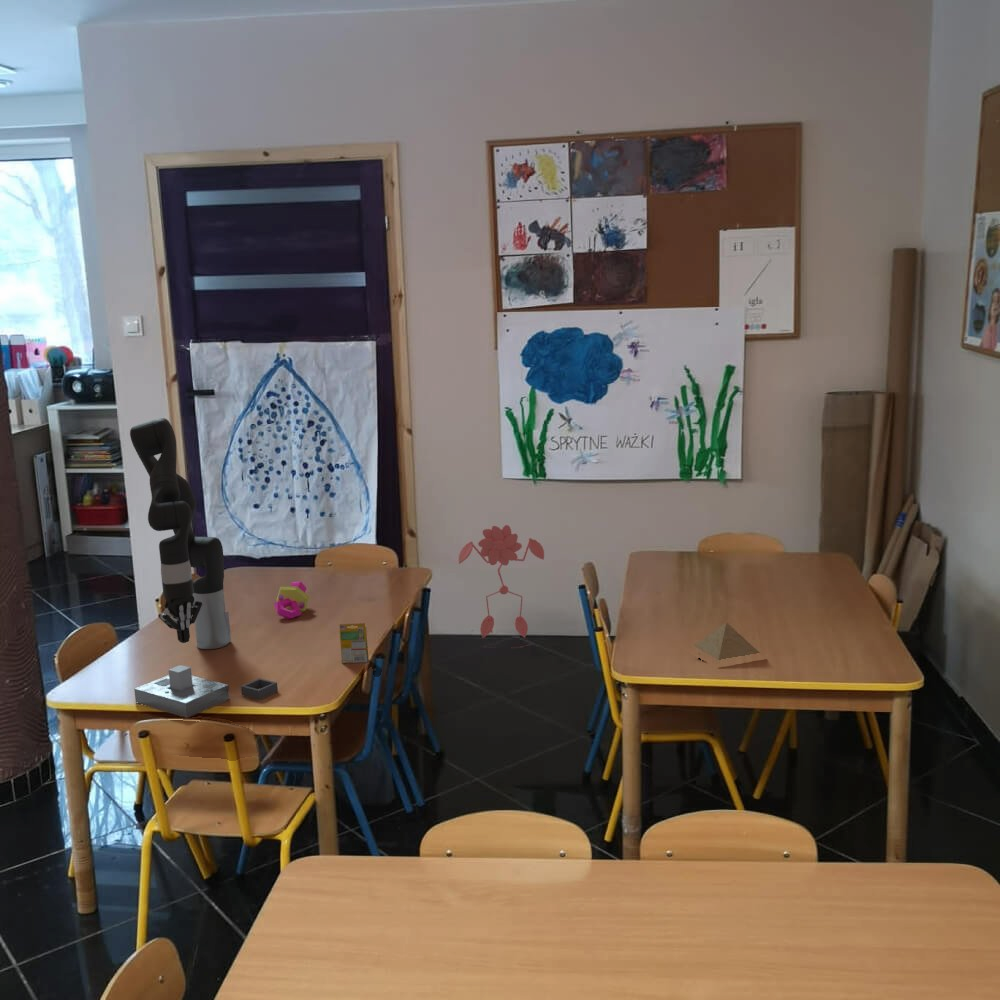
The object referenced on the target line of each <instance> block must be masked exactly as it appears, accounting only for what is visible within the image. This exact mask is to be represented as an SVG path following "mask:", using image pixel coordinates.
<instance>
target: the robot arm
mask: <svg viewBox="0 0 1000 1000" xmlns="http://www.w3.org/2000/svg"><path fill="white" fill-rule="evenodd" d="M129 430H130V431H129V436H130V440H131V444H132V445H133V449H134V450H135V452H136V454H137V456H138V458H139V459H140V461H141V463H142V465H143V466H144V469H145V470H146V472H147V474H148V476H149V487H150V494H151V501H150V505H149V509H148V513H147V521H148V524H149V526H150V528H151V529H153V530H154V531H155V532H164V531H169V530H171V531H173V533H174V535H172V536H169V537H166V538H164V539H162V540H161V541H159V544H158V549H159V558H160V576H161V585H162V592H163V593H162V594H163V597H164V599H165V603H164V610H163V612H161V613H159V614H158V615H157V617H158V618H159V619H160V620H161V621H162V622H163V623H164V624H165V625H166V626H167V627H168V628H169V629H173V630H176V636H177V640H178V641H179V643H182V644H185V643H188V642H190V638H191V633H190V627H191V625H192V624H194V628H195V637H196V638H195V639H196V647H197V648H198V649H201V650H214V649H215V650H216V649H219V648H223V647H226V646H227V645H229V643H230V642H232V638H231V637H232V635H231V625H230V614H229V611H228V610H226V600H225V590H224V589H225V588H224V580H225V579H224V578H225V569H224V567H225V565H224V563H225V561H224V550H223V548H224V547H223V544H222V541H221V540H220V539H219V538H218V537H215V536H197V535H196V534H195V532H194V531H193V528H192V520H193V518H194V516H195V512H196V509H197V500H196V497H195V495H194V493H193V489H192V487H191V485H190V483H189V482H188V480H187V479H185V477H183V476H181V475H180V474H178V473H177V457H178V456H177V439H176V434H175V431H174V429H173V425H172V424H171V422H170V421H169V420H168V419H167V418H165V417H162V418H157V419H152V420H149V421H146V422H142V423H139V424H136V425H134V426H132V427H131V428H130V429H129ZM158 455H160V456H159V457H158V459H157V458H156V456H158ZM192 568H194V569H205V574H204V576H200V577H198V578H195V579H194V580H193V572H192V571H193V570H192Z"/></svg>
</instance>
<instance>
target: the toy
mask: <svg viewBox="0 0 1000 1000" xmlns="http://www.w3.org/2000/svg"><path fill="white" fill-rule="evenodd" d="M306 590H307V586H306V585H305V583H303V582H302V581H294V582H293V581H292V582H291V584H290V586H289V585H288V586H280V587H279V591H278V594H277V597H276V602H274V603H273V605H274V607H275V610H276V613H277V615H278V616H280V617H282V618H285V619H287V620H292V619H293V618H296V617H298V616H300V615H303V612H305V611H306V610H307V607H308V605H309V601H310V598H311V597H310V596H309V595H308V594H307V593H306Z"/></svg>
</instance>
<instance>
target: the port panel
mask: <svg viewBox="0 0 1000 1000" xmlns="http://www.w3.org/2000/svg"><path fill="white" fill-rule="evenodd" d="M192 684H193V687H191V688H188V689H186V690H184V691H181V692H178V691H174V690H170V680H169V674H168V675H165V676H163V677H160V678H158V679H155V680H153V681H152V680H151V682H148V683H145V684H142V685H140V686H138V687H135V688H134V691H133V692H134V696H135V697H134V698H135V699H134V700H135V703H136V702H138V703H140V704H139V705H141V704H143V705H142V706H144V705H146V706H145V707H148V706H149V707H148V708H152V709H155V710H158V711H162V712H165V713H169V714H172V715H174V716H179V717H182V718H185V719H188V718H191V717H193V716H195V715H198V714H200V713H201V712H204V711H206V710H208V709H211V708H213V707H215V705H216V706H218V705H220V704H223V703H224V701H225V702H226V700H227V701H229V700H230V691H229V685H228V684H226V683H222V682H218V681H215V680H210V679H206V678H202V677H199V676H195V675H192ZM228 699H229V700H228ZM217 704H218V705H217Z"/></svg>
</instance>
